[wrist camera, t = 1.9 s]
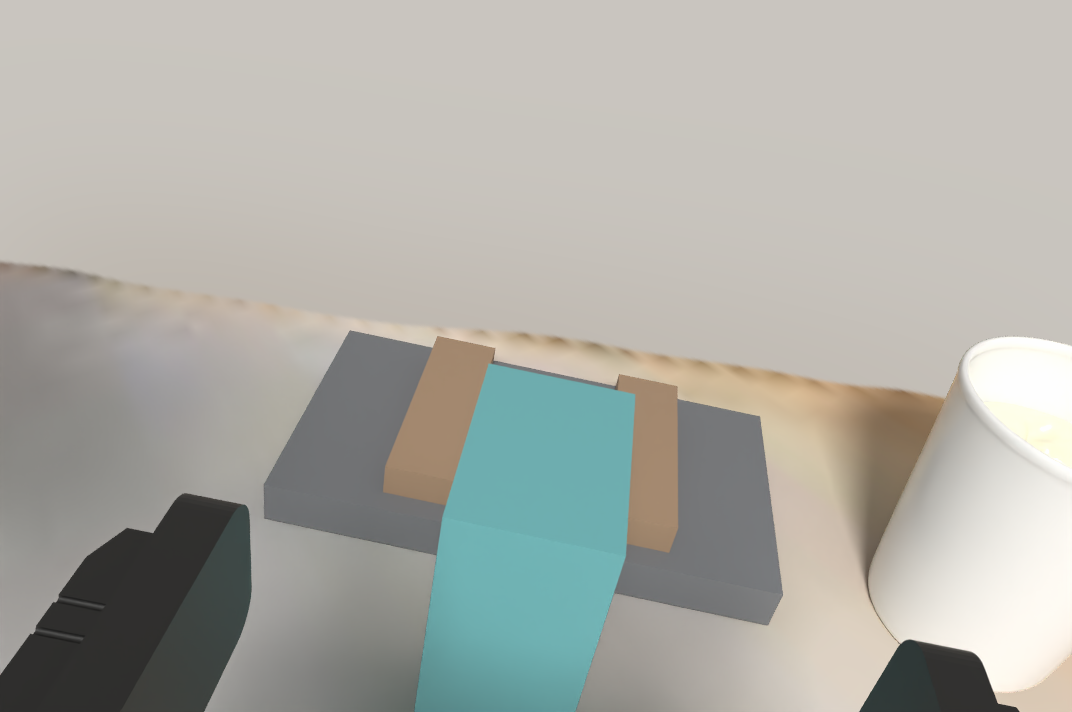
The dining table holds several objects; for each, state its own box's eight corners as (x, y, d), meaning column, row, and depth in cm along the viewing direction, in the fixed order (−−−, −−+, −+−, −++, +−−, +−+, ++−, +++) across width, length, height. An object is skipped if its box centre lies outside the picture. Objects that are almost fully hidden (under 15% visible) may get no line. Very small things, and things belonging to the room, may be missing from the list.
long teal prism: (398, 819, 29) (442, 517, 21) (440, 654, 34) (488, 363, 26) (531, 847, 29) (626, 556, 21) (553, 679, 34) (635, 394, 26)
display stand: (264, 518, 38) (263, 457, 36) (348, 360, 48) (351, 306, 46) (767, 625, 38) (794, 570, 36) (748, 445, 48) (768, 394, 46)
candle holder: (1070, 592, 43) (1221, 397, 36) (1071, 756, 35) (1262, 549, 28) (868, 504, 46) (972, 307, 39) (829, 637, 38) (949, 423, 31)
